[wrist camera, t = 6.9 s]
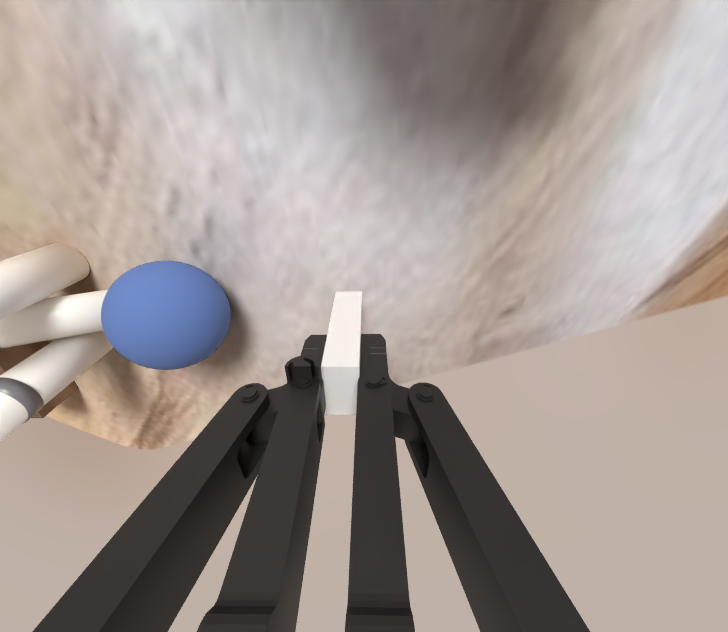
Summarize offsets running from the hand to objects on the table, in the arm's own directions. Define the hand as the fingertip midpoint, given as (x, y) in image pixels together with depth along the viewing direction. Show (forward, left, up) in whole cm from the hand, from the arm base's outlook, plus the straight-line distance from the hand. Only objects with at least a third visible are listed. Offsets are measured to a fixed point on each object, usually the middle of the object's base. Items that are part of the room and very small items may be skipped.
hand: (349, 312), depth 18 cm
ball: (+8, +5, +1) cm, 10 cm away
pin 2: (+13, +12, -2) cm, 18 cm away
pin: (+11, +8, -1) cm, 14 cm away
